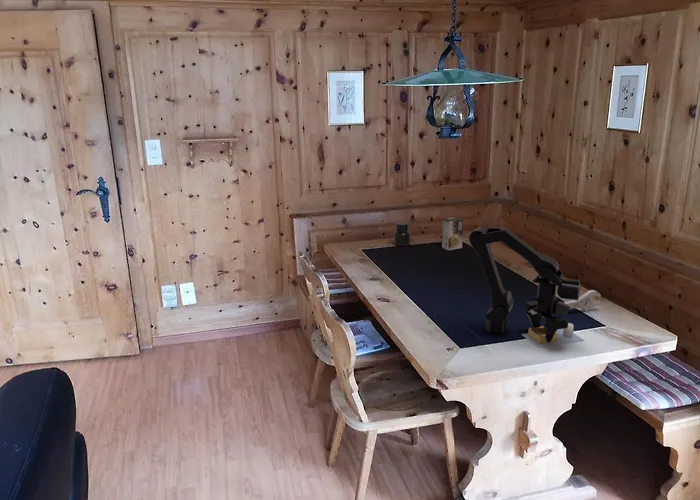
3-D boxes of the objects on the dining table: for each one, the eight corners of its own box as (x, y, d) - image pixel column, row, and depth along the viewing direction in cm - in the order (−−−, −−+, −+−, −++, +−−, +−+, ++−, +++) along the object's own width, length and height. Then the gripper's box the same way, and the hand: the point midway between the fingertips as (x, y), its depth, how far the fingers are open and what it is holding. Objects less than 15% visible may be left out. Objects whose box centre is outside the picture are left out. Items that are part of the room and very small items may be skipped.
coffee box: (455, 245, 311) (456, 216, 307) (462, 248, 306) (463, 219, 301) (441, 247, 308) (442, 218, 303) (448, 250, 302) (449, 221, 297)
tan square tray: (539, 344, 193) (540, 336, 193) (528, 336, 200) (528, 328, 199) (557, 341, 195) (558, 333, 194) (545, 333, 202) (546, 325, 201)
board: (538, 350, 192) (539, 336, 190) (521, 336, 202) (522, 323, 200) (584, 343, 196) (586, 330, 194) (565, 330, 206) (566, 317, 205)
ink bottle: (411, 242, 318) (412, 221, 315) (409, 247, 310) (410, 225, 306) (394, 241, 320) (394, 221, 317) (392, 246, 312) (392, 224, 309)
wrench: (528, 323, 220) (597, 307, 225) (530, 325, 218) (600, 308, 223) (527, 304, 217) (598, 288, 222) (530, 306, 216) (600, 290, 221)
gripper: (584, 302, 186) (579, 346, 191) (551, 283, 203) (547, 324, 208) (554, 306, 183) (550, 350, 188) (523, 287, 201) (520, 327, 205)
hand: (542, 337), depth 197 cm, fingers closed on tan square tray, 7 cm apart
